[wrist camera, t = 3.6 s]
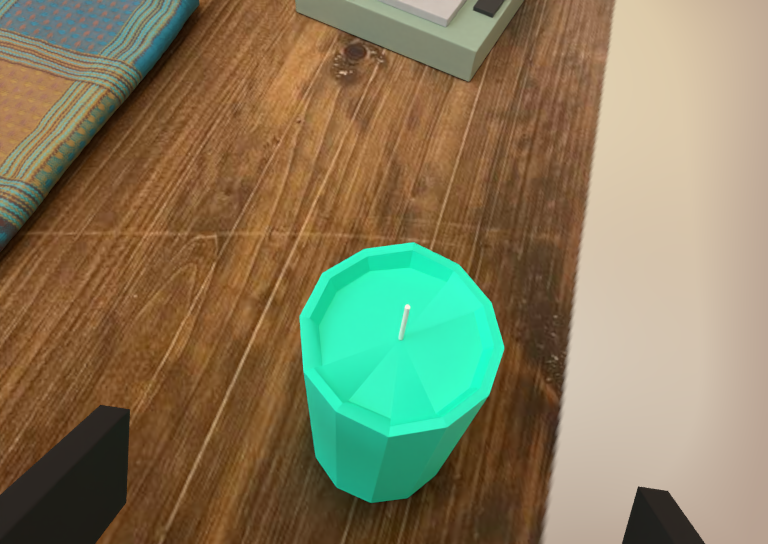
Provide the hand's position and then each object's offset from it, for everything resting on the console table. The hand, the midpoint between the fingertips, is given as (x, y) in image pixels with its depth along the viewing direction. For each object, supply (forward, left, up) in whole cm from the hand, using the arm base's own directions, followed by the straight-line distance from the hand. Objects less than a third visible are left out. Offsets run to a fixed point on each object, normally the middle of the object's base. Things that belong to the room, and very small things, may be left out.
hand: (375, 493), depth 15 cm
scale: (+13, -33, -10) cm, 37 cm away
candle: (+1, -4, -10) cm, 11 cm away
